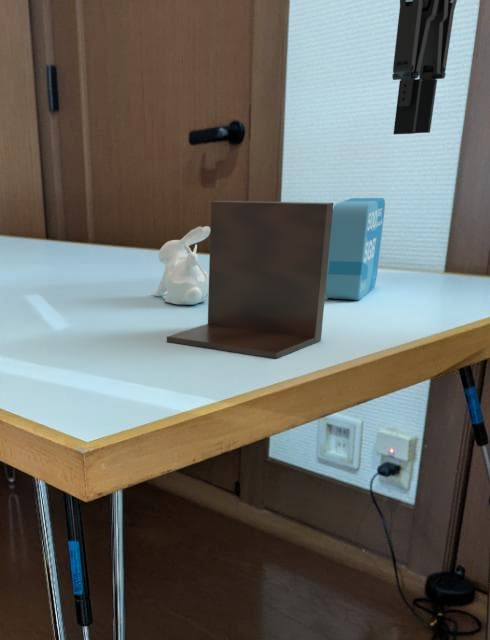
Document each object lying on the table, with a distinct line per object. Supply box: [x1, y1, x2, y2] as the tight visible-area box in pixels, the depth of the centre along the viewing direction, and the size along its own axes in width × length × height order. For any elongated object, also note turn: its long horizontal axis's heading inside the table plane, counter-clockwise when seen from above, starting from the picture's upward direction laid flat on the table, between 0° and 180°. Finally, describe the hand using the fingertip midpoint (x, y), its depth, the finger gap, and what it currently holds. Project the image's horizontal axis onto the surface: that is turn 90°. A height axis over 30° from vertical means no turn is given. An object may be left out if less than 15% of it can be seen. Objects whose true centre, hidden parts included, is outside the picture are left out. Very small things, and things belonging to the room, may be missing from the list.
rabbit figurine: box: [150, 225, 211, 306], centre depth 110 cm, size 12×8×10 cm, turn 12°
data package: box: [325, 197, 386, 301], centre depth 109 cm, size 12×4×12 cm, turn 151°
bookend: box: [166, 200, 334, 359], centre depth 86 cm, size 14×10×14 cm
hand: (411, 133), depth 112 cm, fingers open, 4 cm apart
